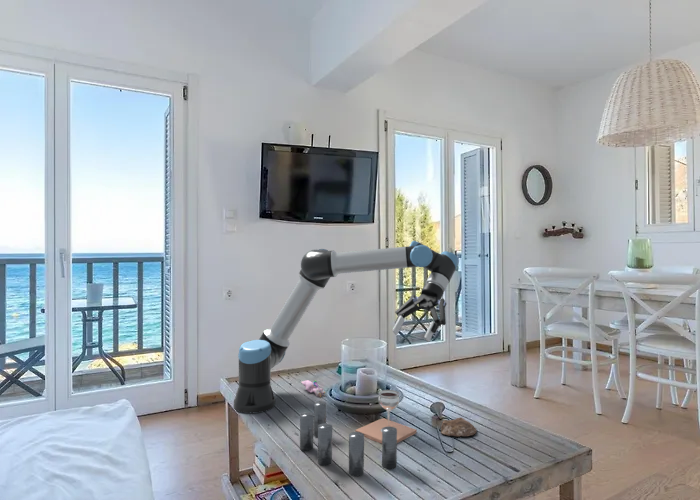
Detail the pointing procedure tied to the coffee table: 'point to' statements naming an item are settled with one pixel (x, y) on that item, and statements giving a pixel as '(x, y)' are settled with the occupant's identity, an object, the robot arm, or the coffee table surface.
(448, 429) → the shell
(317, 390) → the rabbit figure
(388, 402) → the wineglass
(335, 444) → the coffee table surface
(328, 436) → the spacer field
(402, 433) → the terracotta tile
